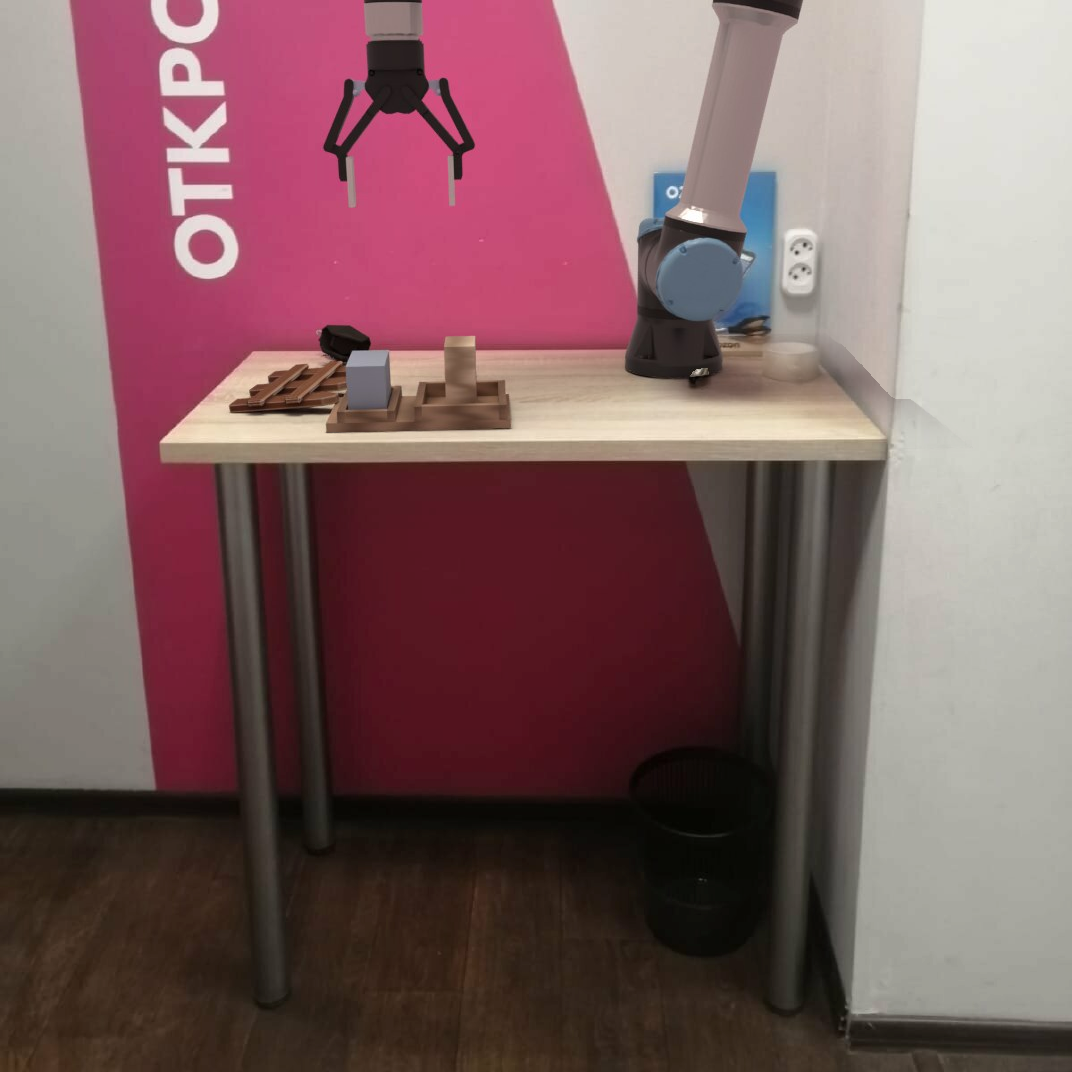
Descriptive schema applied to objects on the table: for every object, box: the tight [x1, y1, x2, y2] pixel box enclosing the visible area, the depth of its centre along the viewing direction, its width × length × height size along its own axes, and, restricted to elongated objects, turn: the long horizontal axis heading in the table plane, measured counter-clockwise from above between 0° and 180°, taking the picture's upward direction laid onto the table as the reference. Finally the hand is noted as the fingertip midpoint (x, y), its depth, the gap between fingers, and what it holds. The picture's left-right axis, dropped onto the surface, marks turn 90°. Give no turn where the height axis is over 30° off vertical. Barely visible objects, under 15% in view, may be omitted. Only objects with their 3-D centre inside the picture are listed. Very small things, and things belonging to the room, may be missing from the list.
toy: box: [315, 324, 372, 363], centre depth 206 cm, size 9×6×15 cm
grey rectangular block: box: [345, 349, 392, 410], centre depth 170 cm, size 5×10×7 cm, turn 3°
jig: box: [325, 379, 512, 433], centre depth 171 cm, size 24×14×3 cm, turn 92°
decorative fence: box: [228, 360, 347, 414], centre depth 184 cm, size 23×2×15 cm
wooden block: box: [443, 335, 478, 404], centre depth 170 cm, size 4×7×9 cm, turn 2°
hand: (402, 206), depth 173 cm, fingers open, 13 cm apart
